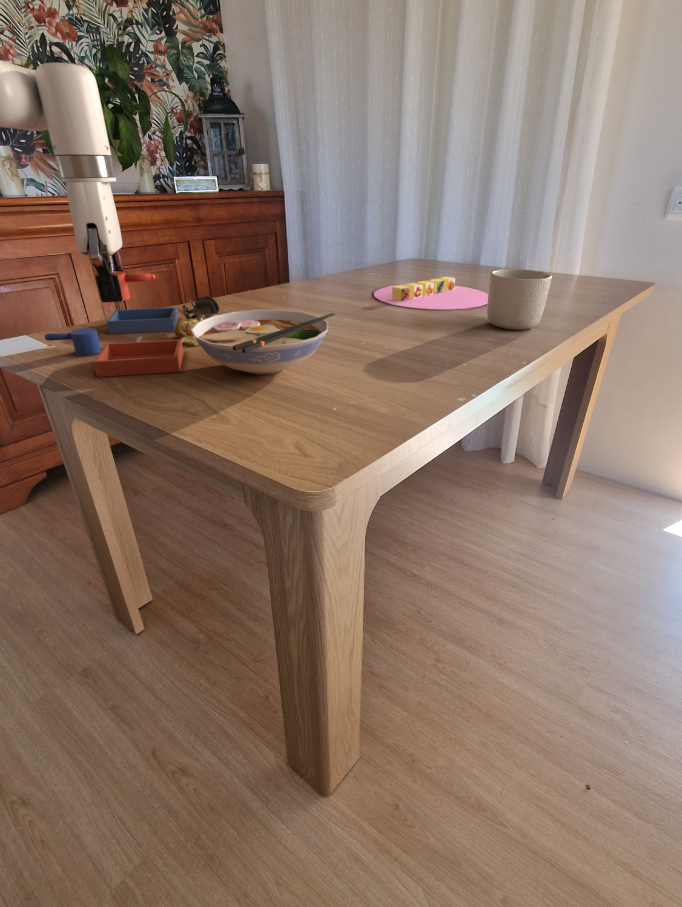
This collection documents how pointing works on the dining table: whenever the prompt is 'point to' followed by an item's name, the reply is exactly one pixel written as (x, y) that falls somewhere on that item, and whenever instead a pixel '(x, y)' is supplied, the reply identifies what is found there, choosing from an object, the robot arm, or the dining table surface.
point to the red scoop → (131, 278)
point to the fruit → (186, 331)
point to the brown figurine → (201, 308)
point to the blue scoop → (80, 340)
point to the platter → (432, 295)
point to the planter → (517, 298)
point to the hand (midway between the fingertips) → (115, 296)
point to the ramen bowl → (261, 339)
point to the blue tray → (142, 320)
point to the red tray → (139, 358)
